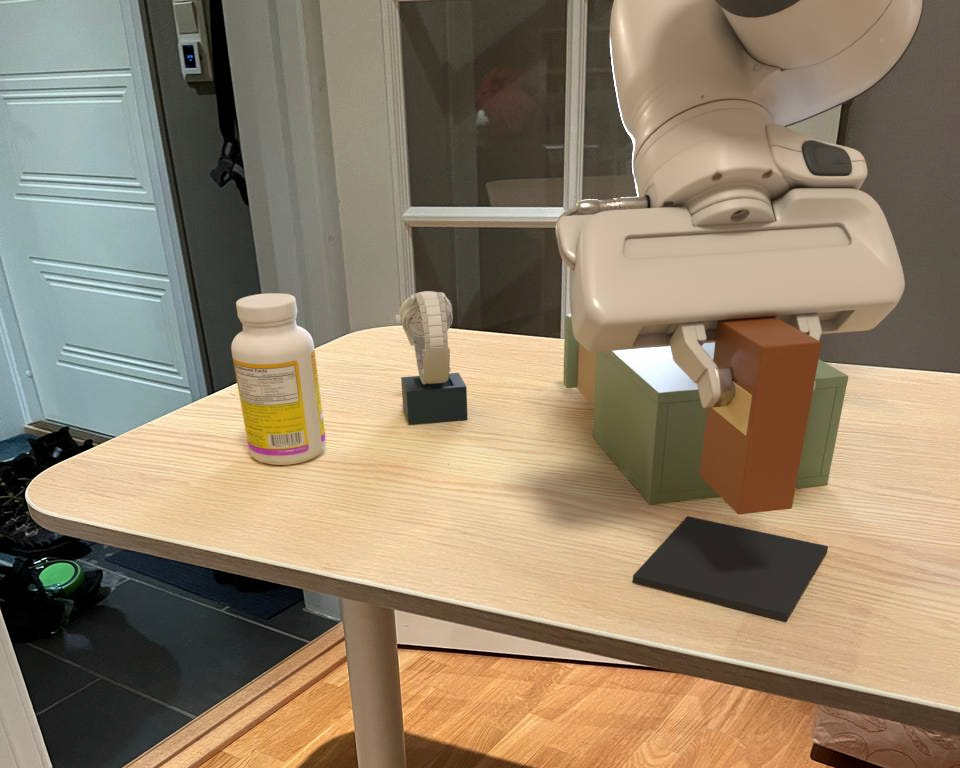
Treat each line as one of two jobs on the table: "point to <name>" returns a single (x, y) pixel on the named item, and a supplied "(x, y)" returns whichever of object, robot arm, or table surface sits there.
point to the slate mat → (733, 567)
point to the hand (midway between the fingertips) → (759, 399)
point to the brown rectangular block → (760, 413)
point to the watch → (431, 362)
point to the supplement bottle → (277, 381)
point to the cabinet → (687, 423)
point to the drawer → (578, 364)
